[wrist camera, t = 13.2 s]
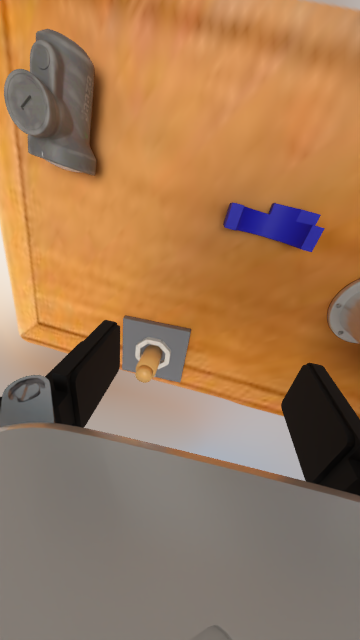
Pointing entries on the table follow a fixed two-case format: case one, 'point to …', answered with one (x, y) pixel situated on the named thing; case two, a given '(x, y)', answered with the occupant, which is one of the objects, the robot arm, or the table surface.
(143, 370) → the tan wooden peg
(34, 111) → the pipe fitting
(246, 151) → the table surface
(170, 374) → the plate
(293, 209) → the cable clip
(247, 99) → the table surface
